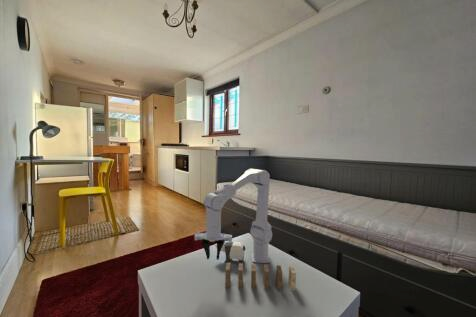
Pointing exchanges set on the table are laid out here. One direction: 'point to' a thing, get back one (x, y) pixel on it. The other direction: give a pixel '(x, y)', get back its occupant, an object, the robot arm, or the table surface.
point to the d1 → (227, 274)
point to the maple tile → (292, 278)
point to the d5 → (279, 277)
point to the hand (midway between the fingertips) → (213, 258)
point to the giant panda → (233, 251)
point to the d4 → (266, 277)
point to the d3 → (253, 276)
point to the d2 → (240, 275)
